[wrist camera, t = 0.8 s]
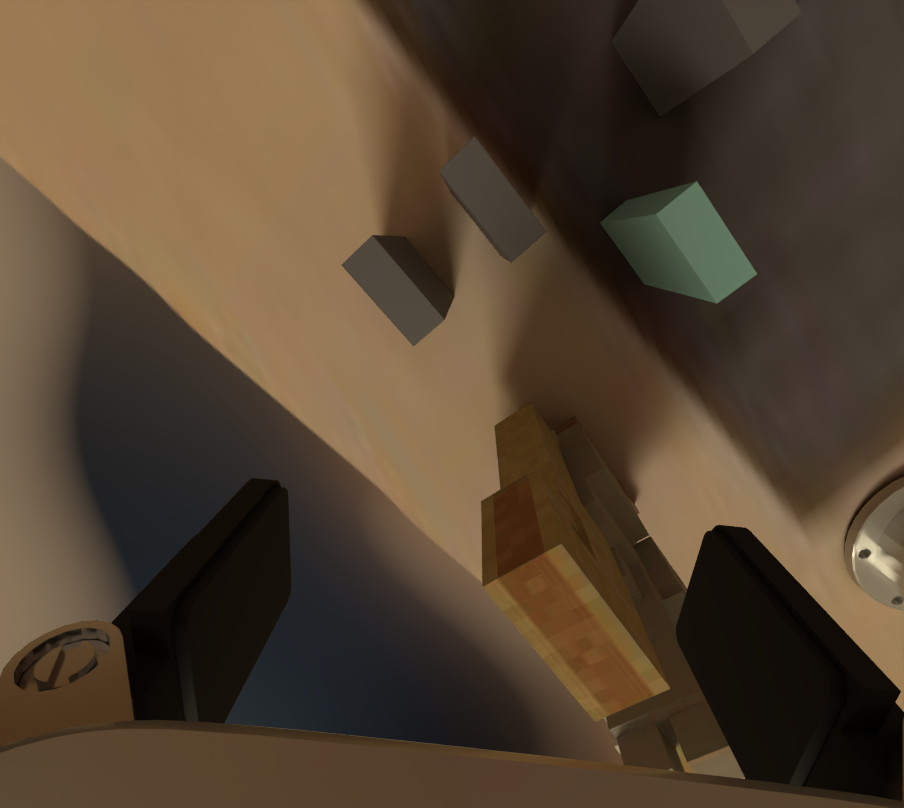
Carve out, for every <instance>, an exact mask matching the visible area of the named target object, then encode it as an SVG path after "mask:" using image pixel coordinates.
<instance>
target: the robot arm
mask: <svg viewBox="0 0 904 808" xmlns="http://www.w3.org/2000/svg"><path fill="white" fill-rule="evenodd" d="M845 562H846V566H847V570H848V572H849V574H850V575H851V577H852V579H853V580H854V582H855V583H856V584H857V585H858V586H859V587H860V588H861V589H862V590H863V591H864V592H866V593H867V594H868V595H869V596H870V597H872V598H873V599H874V600H876V601H878V602H879V603H881V604H883V605H885V606H888V607H891V608H895V609H898V610H903V611H904V476H903V477H901V478H899V479H897V480H895V481H893V482H892V483H890V484H889V485H888V486H886V487H885V488H883V489H882V490H881V491H879V492H878V493H877V494H876V495H875V496H873V497H872V498H871V499H870V500H869V501H868V502H867V503H866V504H865V505H864V507H863V508H862V509H861V511H860V512H859V513H858V515H857V516H856V517H855V519H854V521H853V523H852V525H851V527H850V529H849V531H848V535H847V538H846V542H845ZM290 591H291V567H290V538H289V510H288V491H287V489H286V488H282V487H281V486H280V483H279V482H278V481H277V480H267V479H257V478H251V479H250V480H249V481H248V482H247V483H246V484H245V485H244V486H243V487H242V488H241V489H240V490H239V491H238V492H237V493H236V495H235V496H234V497H233V498H232V499H231V500H230V501H229V502H228V503H227V504H226V505H225V506H224V507H223V508H222V509H221V510H220V512H219V513H218V514H217V515H216V516H215V517H214V518H213V519H212V520H211V521H210V522H209V523H208V524H207V525H206V526H205V527H204V528H203V529H202V530H201V531H200V533H199V534H197V535H196V536H194V537H193V538H192V539H191V540H190V541H189V542H188V543H187V544H186V545H185V546H184V547H183V548H182V549H181V550H180V551H179V553H177V555H176V556H175V557H174V558H173V559H172V560H171V561H170V562H169V563H168V564H167V565H166V566H165V567H164V568H163V569H162V570H161V571H160V572H159V573H158V574H157V576H156V577H155V578H154V579H153V580H152V581H151V582H150V583H149V584H148V585H147V586H146V587H145V588H144V589H143V590H142V591H141V592H140V593H139V594H138V595H137V596H136V597H135V599H134V600H133V601H132V602H131V603H130V604H129V605H128V606H127V607H126V608H125V609H124V610H123V611H122V612H121V613H120V614H119V615H118V616H117V618H115V620H114V621H113V622H112V623H108V622H104V621H97V620H96V621H81V622H77V623H73V624H69V625H65V626H62V627H60V628H58V629H55V630H53V631H51V632H48V633H46V634H44V635H42V636H41V637H39V638H37V639H35V640H34V641H32V642H30V643H29V644H27V645H26V646H25V647H24V648H23V649H21V650H20V651H19V652H17V653H16V654H15V655H14V656H13V657H12V659H11V660H10V661H9V662H8V663H7V665H6V666H5V667H4V668H3V671H2V674H1V676H0V808H904V712H903V711H902V709H901V708H900V707H899V706H898V705H897V704H896V703H895V702H896V700H897V698H898V696H899V694H900V692H901V691H900V690H899V689H898V688H897V687H896V686H895V685H894V684H893V682H892V681H891V680H890V679H889V678H888V677H887V676H886V675H885V674H884V673H883V672H882V671H881V670H880V669H879V668H878V667H877V665H876V664H875V663H874V662H873V661H872V660H871V659H870V658H869V657H868V656H867V655H866V654H865V653H864V652H863V651H862V649H861V648H860V647H859V646H858V645H857V644H856V643H855V642H854V641H853V640H852V639H851V638H850V637H849V636H848V635H847V634H846V632H845V631H844V630H843V629H842V628H841V627H840V626H839V625H838V624H837V623H836V622H835V621H834V620H833V619H832V618H831V617H830V615H829V614H828V613H827V612H826V611H825V610H824V609H823V608H822V607H821V606H820V605H819V604H818V603H817V602H816V601H815V599H814V598H813V597H812V596H811V595H810V594H809V593H808V592H807V591H806V590H805V589H804V588H803V587H802V586H801V585H800V584H799V582H798V581H797V580H796V579H795V578H794V577H793V576H792V575H791V574H790V573H789V572H788V571H787V570H786V569H785V568H784V566H783V565H782V564H781V563H780V562H779V561H778V560H777V559H776V558H775V557H774V556H773V555H772V554H771V553H770V552H769V551H768V549H767V548H766V547H765V546H764V545H763V544H762V543H761V542H760V541H759V540H758V539H757V538H756V537H755V536H754V535H753V534H752V532H751V531H750V530H748V529H747V528H743V527H734V526H724V525H717V526H715V527H714V528H713V530H712V531H707V532H706V533H705V535H704V538H703V541H702V544H701V547H700V550H699V554H698V557H697V560H696V563H695V567H694V570H693V573H692V576H691V579H690V583H689V586H688V589H687V592H686V596H685V599H684V602H683V605H682V608H681V612H680V615H679V618H678V621H677V625H676V638H677V642H678V644H679V646H680V648H681V650H682V653H683V655H684V657H685V659H686V661H687V663H688V665H689V667H690V669H691V671H692V673H693V675H694V677H695V679H696V681H697V683H698V685H699V687H700V689H701V691H702V693H703V695H704V697H705V699H706V701H707V703H708V705H709V707H710V709H711V711H712V713H713V715H714V717H715V719H716V721H717V723H718V725H719V727H720V729H721V731H722V733H723V735H724V737H725V739H726V741H727V743H728V745H729V747H730V749H731V751H732V753H733V755H734V757H735V759H736V761H737V763H738V765H739V767H740V769H741V771H742V773H743V775H744V777H745V779H740V778H731V777H723V776H714V775H706V774H697V773H688V772H680V771H671V770H663V769H654V768H646V767H637V766H628V765H620V764H611V763H602V762H593V761H584V760H574V759H566V758H557V757H548V756H538V755H530V754H520V753H512V752H503V751H493V750H484V749H475V748H466V747H457V746H448V745H438V744H428V743H419V742H410V741H399V740H390V739H381V738H371V737H362V736H361V737H360V736H352V735H342V734H332V733H323V732H313V731H304V730H293V729H281V728H270V727H258V726H247V725H246V726H245V725H235V724H224V722H225V720H226V719H227V717H228V715H229V713H230V711H231V709H232V707H233V705H234V703H235V701H236V699H237V698H238V696H239V694H240V692H241V690H242V688H243V686H244V684H245V682H246V680H247V678H248V676H249V675H250V673H251V671H252V669H253V667H254V665H255V663H256V661H257V659H258V657H259V655H260V653H261V652H262V650H263V648H264V646H265V644H266V642H267V640H268V638H269V636H270V634H271V632H272V630H273V629H274V627H275V625H276V623H277V621H278V619H279V617H280V615H281V613H282V611H283V609H284V608H285V606H286V604H287V602H288V599H289V596H290Z"/></svg>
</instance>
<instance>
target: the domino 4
mask: <svg viewBox="0 0 904 808" xmlns="http://www.w3.org/2000/svg"><path fill="white" fill-rule="evenodd" d="M600 224H601V225H602V226H603V228H604V229H605V231H606V232H607V233H608V235H609V236H610V238H611V239H612V240H613V242H614V243H615V244H616V246H617V247H618V249H619V250H620V251H621V253H622V254H623V256H624V257H625V258H626V260H627V261H628V263H629V264H630V265H631V267H632V268H633V269H634V271H635V272H636V274H637V275H638V276H639V278H640V279H641V281H642V282H643V283H644V284H645V285H649V286H653V287H656V288H660V289H664V290H668V291H672V292H675V293H679V294H683V295H687V296H690V297H694V298H698V299H702V300H706V301H709V302H713V303H718V302H720V301H721V300H722V299H724V298H725V297H727V296H728V295H729V294H731V293H732V292H733V291H735V290H736V289H737V288H739V287H740V286H742V285H743V284H744V283H746V282H747V281H748V280H750V279H751V278H753V277H754V276H755V275H757V273H756V271H755V270H754V268H753V267H752V265H751V264H750V262H749V261H748V259H747V258H746V256H745V255H744V253H743V251H742V250H741V248H740V247H739V245H738V244H737V242H736V241H735V239H734V238H733V236H732V235H731V233H730V231H729V230H728V228H727V227H726V225H725V224H724V222H723V221H722V219H721V218H720V216H719V214H718V213H717V211H716V210H715V208H714V207H713V205H712V204H711V202H710V201H709V199H708V198H707V196H706V194H705V193H704V191H703V190H702V188H701V187H700V185H699V184H698V182H697V181H696V182H692V183H688V184H685V185H681V186H677V187H673V188H670V189H666V190H662V191H659V192H655V193H651V194H648V195H644V196H640V197H636V198H633V199H629V200H626V201H625V202H624V203H623V204H621V205H620V206H619V207H618V208H617V209H615V210H614V211H613V212H612V213H611V214H609V215H608V216H607V217H606V218H605V219H603V220H602V221H601V222H600Z"/></svg>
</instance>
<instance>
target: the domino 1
mask: <svg viewBox="0 0 904 808" xmlns="http://www.w3.org/2000/svg"><path fill="white" fill-rule="evenodd" d="M342 266H343V267H344V269H345V270H346V271H347V272H348V273H349V274H350V275H351V276H352V278H353V279H354V280H355V281H356V282H357V283H358V284H359V285H360V287H361V288H362V289H363V290H364V291H365V292H366V293H367V294H368V296H369V297H370V298H371V299H372V300H373V301H374V302H375V303H376V305H377V306H378V307H379V308H380V309H381V310H382V311H383V312H384V314H385V315H386V316H387V317H388V318H389V319H390V320H391V322H392V323H393V324H394V325H395V326H396V327H397V328H398V329H399V331H400V332H401V333H402V334H403V335H404V336H405V337H406V338H407V340H408V341H409V342H410V343H411V344H412V345H413V346H414V345H416V344H417V343H418V342H419V341H420V340H421V339H423V338H424V337H425V336H426V335H427V334H428V333H430V332H431V331H432V330H433V329H434V328H435V327H437V326H438V325H439V324H440V323H441V322H442V321H444V320H445V317H446V315H447V313H448V310H449V308H450V306H451V303H452V301H453V299H454V295H453V294H452V292H451V291H450V290H449V289H448V288H447V286H446V285H445V284H444V283H443V282H442V280H441V279H440V278H439V277H438V276H437V274H436V273H435V272H434V271H433V270H432V268H431V267H430V266H429V265H428V264H427V262H426V261H425V260H424V259H423V258H422V257H421V255H420V254H419V253H418V252H417V251H416V249H415V248H414V247H413V246H412V245H411V243H410V242H409V241H408V240H407V239H406V237H401V236H379V235H372V236H371V237H370V238H369V239H368V240H367V241H366V242H365V243H364V244H363V245H362V246H361V247H360V248H358V249H357V250H356V251H355V252H354V253H353V254H352V255H351V256H350V257H349V258H348V259H347V260H346V261H345V262H344V263H343V264H342Z"/></svg>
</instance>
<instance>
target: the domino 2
mask: <svg viewBox="0 0 904 808" xmlns="http://www.w3.org/2000/svg"><path fill="white" fill-rule="evenodd" d="M439 172H440V174H441V175H442V177H443V179H444V181H445V183H446V184H447V186H448V188H449V190H450V192H451V193H452V194H453V196H454V197H455V198H456V200H457V201H458V202H459V203H460V205H461V206H462V207H463V208H464V210H465V211H466V212H467V213H468V215H469V216H470V217H471V219H472V220H473V221H474V222H475V224H476V225H477V226H478V227H479V229H480V230H481V231H482V232H483V234H484V235H485V236H486V237H487V239H488V240H489V241H490V243H491V244H492V245H493V246H494V248H495V249H496V250H497V251H498V253H499V254H500V255H501V256H502V257H504V258H505V259H507V260H508V261H510V262H512V261H514V260H515V259H516V258H517V257H518V256H519V255H521V254H522V253H523V252H524V251H525V250H526V249H528V248H529V247H530V246H531V245H532V244H533V243H534V242H536V241H537V240H538V239H539V238H540V237H541V236H543V235H544V234H545V233H546V230H545V229H544V228H543V226H542V225H541V224H540V222H539V221H538V220H537V218H536V217H535V216H534V215H533V213H532V212H531V211H530V209H529V208H528V207H527V205H526V204H525V203H524V201H523V200H522V199H521V197H520V196H519V195H518V193H517V192H516V191H515V189H514V188H513V187H512V185H511V184H510V183H509V181H508V180H507V179H506V177H505V176H504V175H503V173H502V172H501V171H500V169H499V168H498V167H497V165H496V164H495V163H494V161H493V160H492V159H491V157H490V156H489V155H488V153H487V152H486V151H485V149H484V148H483V147H482V146H481V144H480V143H479V142H478V140H477V139H476V138H475V136H474V137H473V138H472V139H471V140H470V141H469V142H468V143H467V144H466V145H465V146H464V147H463V148H462V149H461V150H460V151H459V152H458V153H457V154H456V155H455V156H454V157H453V158H452V159H451V160H450V161H448V162H447V163H446V164H445V165H444V166H443V167H442V168H441V169H440V170H439Z"/></svg>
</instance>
